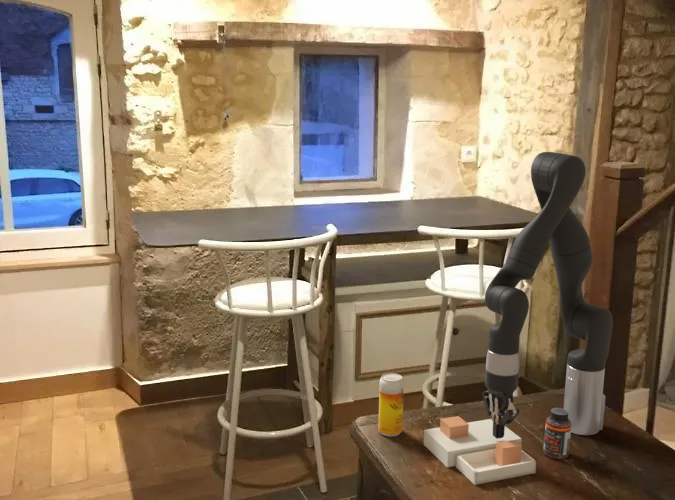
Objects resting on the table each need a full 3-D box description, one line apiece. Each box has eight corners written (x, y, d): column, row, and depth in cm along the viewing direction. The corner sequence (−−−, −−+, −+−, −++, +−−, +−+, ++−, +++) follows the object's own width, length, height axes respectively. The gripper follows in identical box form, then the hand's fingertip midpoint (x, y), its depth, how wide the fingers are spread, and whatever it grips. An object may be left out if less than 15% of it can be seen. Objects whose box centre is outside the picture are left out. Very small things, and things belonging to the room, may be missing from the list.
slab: (493, 432, 192) (494, 418, 191) (520, 453, 181) (521, 438, 181) (423, 444, 185) (424, 429, 185) (447, 467, 174) (447, 451, 174)
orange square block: (457, 427, 186) (458, 416, 186) (468, 435, 182) (468, 424, 181) (439, 430, 184) (440, 418, 184) (449, 439, 180) (450, 427, 179)
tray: (514, 456, 180) (515, 444, 180) (535, 472, 172) (536, 461, 172) (455, 467, 175) (456, 455, 174) (474, 484, 167) (475, 472, 166)
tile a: (514, 439, 176) (521, 445, 174) (513, 459, 177) (520, 465, 175) (496, 442, 175) (502, 448, 172) (494, 462, 176) (501, 468, 173)
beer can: (400, 438, 188) (402, 382, 185) (376, 436, 190) (378, 380, 186) (403, 428, 194) (405, 373, 191) (380, 425, 195) (381, 371, 192)
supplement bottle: (539, 455, 181) (542, 411, 178) (548, 446, 185) (552, 403, 183) (563, 462, 177) (567, 418, 175) (572, 453, 182) (576, 410, 180)
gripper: (532, 376, 171) (527, 446, 174) (500, 357, 183) (496, 423, 186) (504, 380, 168) (499, 451, 172) (473, 360, 180) (470, 427, 184)
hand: (498, 436), depth 179 cm, fingers closed
